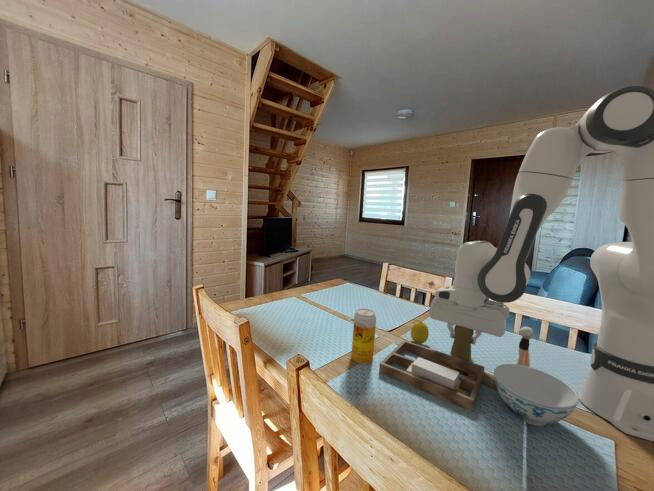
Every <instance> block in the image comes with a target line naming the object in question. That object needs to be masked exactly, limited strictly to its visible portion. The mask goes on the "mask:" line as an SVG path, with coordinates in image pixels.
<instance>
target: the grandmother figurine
mask: <svg viewBox="0 0 654 491" xmlns="http://www.w3.org/2000/svg"><path fill="white" fill-rule="evenodd" d="M518 332H519V333H520V334H521V339H520V341H519V344H518V358H517V363H516V364H517V365H523V366H527V367H531V366H530V365H531V360H530V340H531V339H532V338H533V332H534V329H533V328H531V327H528V326H522V327H521V328H520V329H519V330H518Z"/></svg>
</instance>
